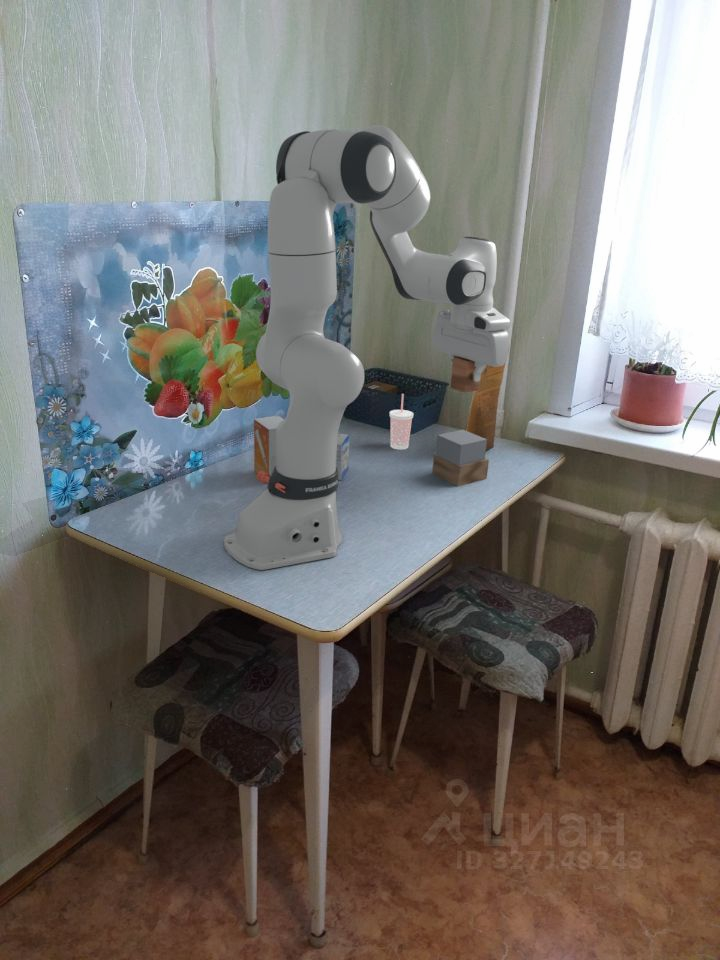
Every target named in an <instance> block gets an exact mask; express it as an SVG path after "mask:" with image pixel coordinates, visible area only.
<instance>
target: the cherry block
mask: <svg viewBox="0 0 720 960" xmlns="http://www.w3.org/2000/svg"><path fill="white" fill-rule="evenodd" d="M475 369H476V366H475V361H472V360H468V359H465V358H462V357H453V365H452V366H451V378H450V380H451V381H450V389H452V390H455V391H458V392H461V393H464V394H465V393H470V392H473V391H477V390H479V386H480V381H477V382H475V381H472V380H470V377H471V376H470V375H471V373H472V372H474V371H475Z"/></svg>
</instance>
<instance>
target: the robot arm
mask: <svg viewBox="0 0 720 960" xmlns="http://www.w3.org/2000/svg"><path fill="white" fill-rule="evenodd" d="M275 164H276V165H275V173H276V183H277V185H276V186H274V187H273V189H272V191H271V194H270V198H269V204H268V217H267V254H268V255H267V256H268V265H269V267H268V269H269V271H268V272H269V286H270V287H269V289H270V303H269V311H268V319H267V324H266V328H265V329H266V330H265V333H264V334H263V335H262V336H261V338H260V339H259V340H258V343H257V346H256V351H255V357H256V362H257V365H258V367H259V369H260V370H261V371H262V372H263V373H264V375H265V376H266V377H267V378H268V379H269V380H270V381H271V383H273V384H275V385H277V386H278V387H281V388H282V389H284V390H286V391H288V393H289V397H290V398H289V405H288V409H287V413H286V416H285V418H283V419H284V420H283V421H281V422H280V423H279V425H278V427H277V430H276V466H275V467H274V470H273V472H272V475H271V477H270V475H269V474H268V473H266V472H265V471H259V472H258V473H259V474H257V473H256V480H257V481H258V482H261V483H262V484H266V485H267V486H266V487H267V488H266V489H265V490H264V491H262V493H261V494H259V495H258V497H256V498H255V499H254V500H253V501H252V502H250V504H248V506H246V507H245V508H244V509H243V510H241V512H240V513H239V515H238V518H237V522H236V527H235V531H234V532H232V533H230V534H227V535H226V536H224V540H223V547H224V549H225V550H226V552H227V553H228V555H230V557H232V558H233V559H235V561H237V562H239V563H240V564H242V565H243V566H245V567H248V568H251V569H255V570H259V571H264V570H269V569H271V570H272V569H275V568H280V567H286V566H290V565H291V566H292V565H296V564H303V563H307V562H314V561H319V560H324V559H329V558H334V557H336V556H337V553H338V549H337V548H338V547H339V545H341V543H342V542H343V533H342V531H341V526H340V521H339V514H338V506H337V505H338V504H337V491H338V487H339V480H338V468H337V467H336V457H337V439H338V434H339V429H340V425H341V420H342V418H343V415H344V412H345V411H346V408H347V407H348V406H349V405H350V404H351V403H353V402H354V401H355V400H356V399H357V398H358V397H359V395H360V393H361V391H362V390H363V387H364V383H365V370H364V365H363V363H362V361H361V360H360V358H358V357H357V356H356V355H355V354H354V353H353V352H352V351H351V350H349V348H347V347H346V346H345V345H343V344H342V343H340V342H337V341H334V340H332V339H329V338H326V337H325V334H324V324H325V320H326V315H327V312H328V310H329V308H330V307H331V306H332V305H333V304H334V303H335V301H336V299H337V296H338V286H337V285H338V284H337V283H338V281H337V277H338V276H337V256H336V255H337V254H336V235H335V226H334V219H333V216H334V212H335V209H336V206H337V205H338V204H354V203H357V204H363V205H364V204H367V206H368V207H369V209H370V210H369V211H370V212H369V221H370V225H371V229H372V231H373V234H374V236H375V238H376V240H377V242H378V244H379V247H380V249H381V250H382V253H383V255H384V257H385V259H386V261H387V263H388V265H389V267H390V271H391V273H392V278H393V282H394V286H395V289H396V291H397V292H398V294H399V295H400V296H401V297H402V298H404V299H405V300H406V299H407V300H413V301H414V300H415V301H426V302H432V303H437V304H442V305H443V304H444V305H450V306H451V307H450V308H451V309H450V310H449V309H447V308H443V309H441V310H440V311H439V312H438V313H437V316H436V317H437V319H436V321H435V326H434V330H433V335H432V340H431V341H432V343H431V344H432V347H433V350H435V351H438V352H441V353H445V354H448V359H449V362H450V366H451V367H452V365H453V357H462V358H465V359H468V360H472V361H475V366H476V369H475V371H474V372H472V373H471V375H470V376H471V377H470V380H472V381H475V382H477V381H480V378H481V373H482V372H483V370H484V369H485V367H486V365H488V366H492V367H497V366H502V365H504V364H505V363H506V364H507V361H508V356H509V352H508V348H509V349H510V338H509V337H510V336H509V333H508V331H507V330H508V329H509V328H510V325H511V320H510V319H509V318H508V317H507V316H505V314H502V313H501V312H499V311H498V309H496V308H495V307H494V297H493V290H494V286H495V285H496V279H497V267H498V264H497V263H498V260H497V259H498V254H497V247H496V243H494V242H493V241H492V240H490V239H488V238H487V239H486V238H480V237H475V236H463V237H461V238H460V239H459V242H458V246H457V247H456V249H454V250H453V251H451V252H450V253H448V254H446V255H445V254H441V253H440V254H437V253H433V252H431V253H430V252H426V251H424V250H423V251H422V250H420V249H418V248H416V247H415V246H414V245H413V243H412V241H411V238H410V236H409V234H408V231H410V230H412V229H413V228H414V227H416V226H417V225H418V224H419V223H420V222H421V221H422V220H423V218H424V217H425V216H426V214H427V212H428V210H429V207H430V204H431V203H430V202H431V198H432V197H431V190H430V186H429V184H428V180H427V178H426V176H425V175H424V174H423V171H422V170H421V168H420V167H419V164H418V163H417V161H416V160H415V158H414V156H413V155H412V153H411V151H410V150H409V149H408V148H407V146H406V145H405V143H404V142H403V141H402V140H401V138H399V137H398V135H397V134H396V133H395V132H394V131H393V130H392V129H391V128H389V127H387V126H385V125H379V124H378V125H377V124H375V125H371V126H368V127H366V128H364V129H362V130H361V131H357V132H356V131H351V130H350V131H349V130H339V129H336V128H335V129H334V128H333V129H331V128H330V129H322V130H321V129H319V130H315V131H309V130H308V131H301V132H297V133H295V134H292V135H290V136H289V137H287V138H286V139H284V141H283V142H282V144H281V145H280V147H279V149H278V153H277V156H276V163H275ZM506 364H505V365H506Z"/></svg>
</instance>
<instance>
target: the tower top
mask: <svg viewBox="0 0 720 960" xmlns="http://www.w3.org/2000/svg"><path fill="white" fill-rule="evenodd" d="M436 436H437V437H436V438H437V439H436V450H435V454H436V456H439V457H441V458H443V459H445V460H447V461H449V462H451V463H454V464H456V465H458V466H462V465H466V464H470V463H474V462H478V461H482V460H485V458H486V452H487V451H486V444H487V439H485V438H482V437H480V436H477V435H475V434H473V433H470V432H468V431H465V429H460V430H454V431H450V432H444V433H440V434H437V435H436Z"/></svg>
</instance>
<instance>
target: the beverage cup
mask: <svg viewBox="0 0 720 960" xmlns="http://www.w3.org/2000/svg"><path fill="white" fill-rule="evenodd" d="M404 396H405V394H404V393H401V400H400V401H401V402H400V403H401V404H400V409H392V410H390V411H389V418H390V447H391V448H392V449H394V450H407V449H408V448H409V443H410V437H411V436H410V435H411V429H412V421H413V418H414V415H415V414H414V412H413V411H410V410H407V409H406V410H405V409H404V398H405V397H404Z"/></svg>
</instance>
